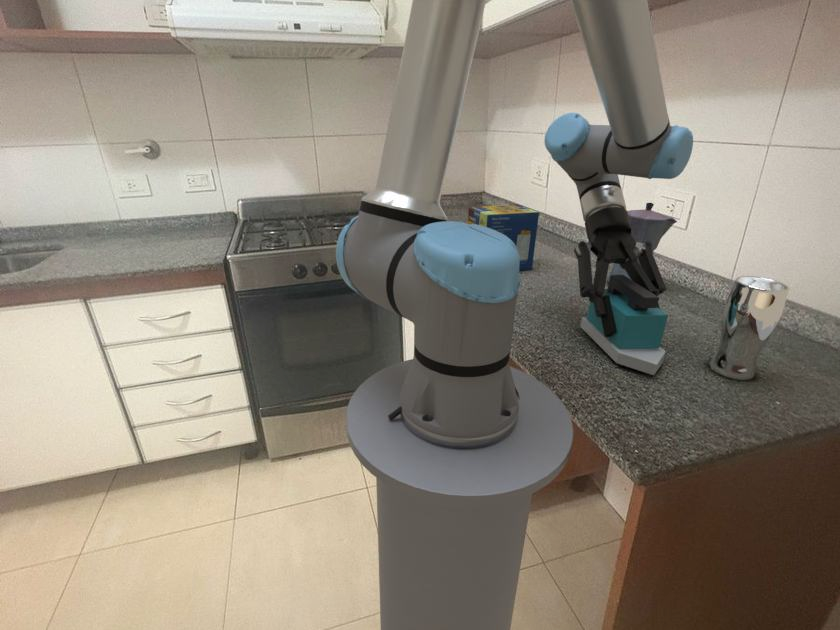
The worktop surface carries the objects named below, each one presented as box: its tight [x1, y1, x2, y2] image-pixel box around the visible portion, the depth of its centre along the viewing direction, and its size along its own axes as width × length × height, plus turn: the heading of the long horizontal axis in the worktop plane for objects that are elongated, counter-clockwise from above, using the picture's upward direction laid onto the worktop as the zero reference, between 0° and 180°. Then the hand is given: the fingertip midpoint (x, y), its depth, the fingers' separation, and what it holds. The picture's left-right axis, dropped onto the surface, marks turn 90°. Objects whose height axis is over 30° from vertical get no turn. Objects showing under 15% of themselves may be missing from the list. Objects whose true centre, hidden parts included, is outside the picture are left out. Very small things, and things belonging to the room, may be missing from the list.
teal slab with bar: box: [579, 274, 669, 376], centre depth 74 cm, size 18×8×11 cm, turn 5°
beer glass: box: [709, 275, 790, 381], centre depth 68 cm, size 7×7×15 cm
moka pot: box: [606, 202, 678, 283], centre depth 104 cm, size 10×15×20 cm, turn 74°
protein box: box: [467, 204, 540, 272], centre depth 117 cm, size 10×15×16 cm
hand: (632, 333), depth 73 cm, fingers closed on teal slab with bar, 7 cm apart
